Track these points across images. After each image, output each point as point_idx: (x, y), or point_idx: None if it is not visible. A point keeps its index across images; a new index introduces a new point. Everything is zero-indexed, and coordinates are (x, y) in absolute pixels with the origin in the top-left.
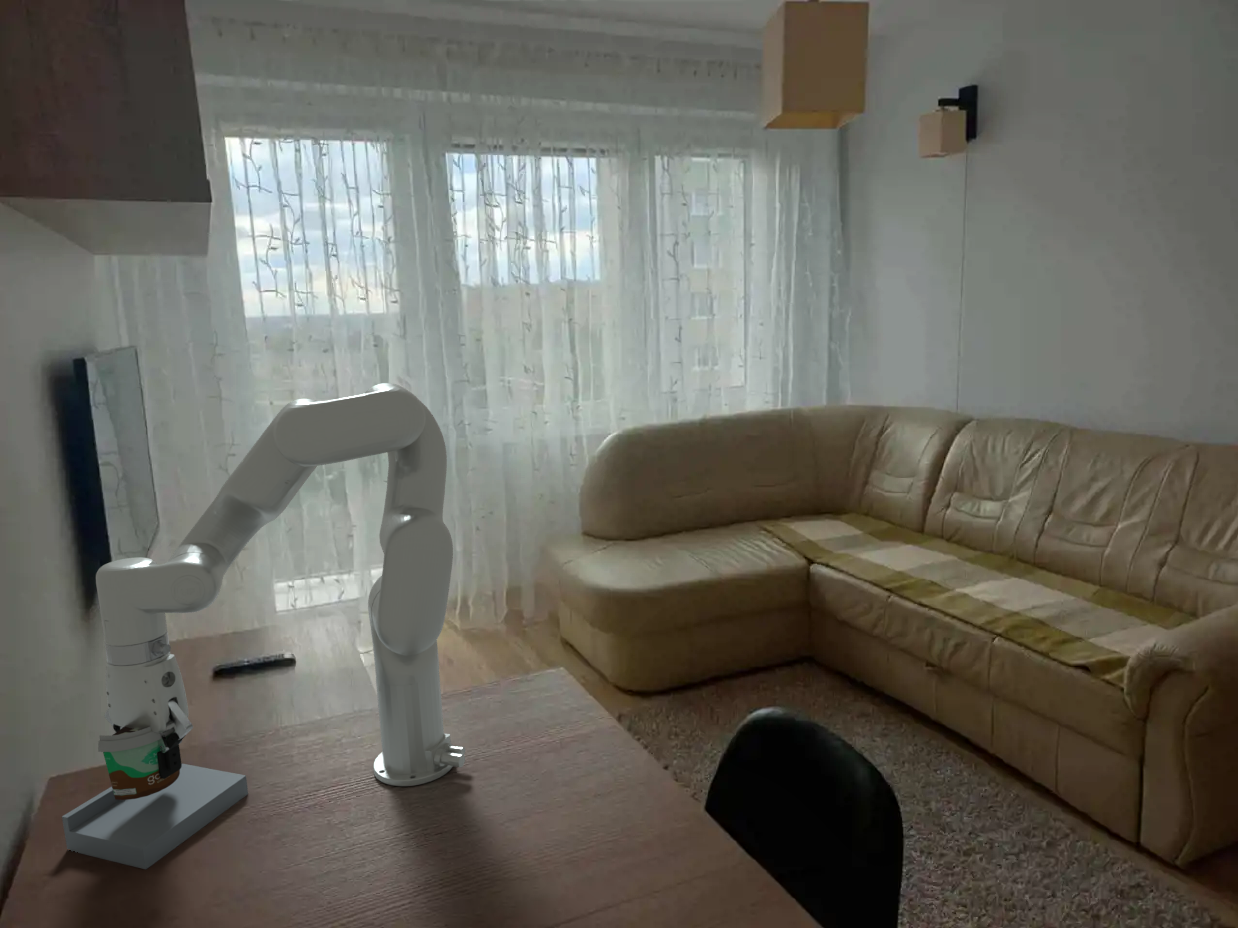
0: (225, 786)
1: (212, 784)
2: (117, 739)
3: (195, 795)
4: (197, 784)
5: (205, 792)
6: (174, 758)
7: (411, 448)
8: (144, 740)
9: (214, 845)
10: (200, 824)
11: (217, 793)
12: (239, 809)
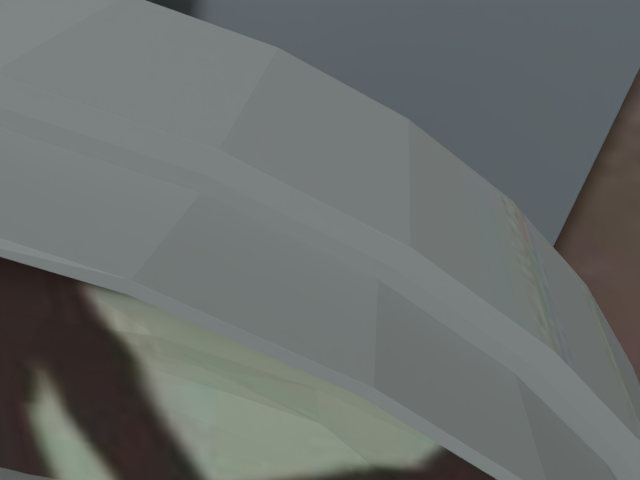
0: (608, 68)
1: (526, 55)
2: None
3: (481, 158)
4: (441, 63)
5: (520, 130)
6: None
7: None
8: None
9: (610, 295)
10: None
11: (589, 136)
12: (632, 85)
